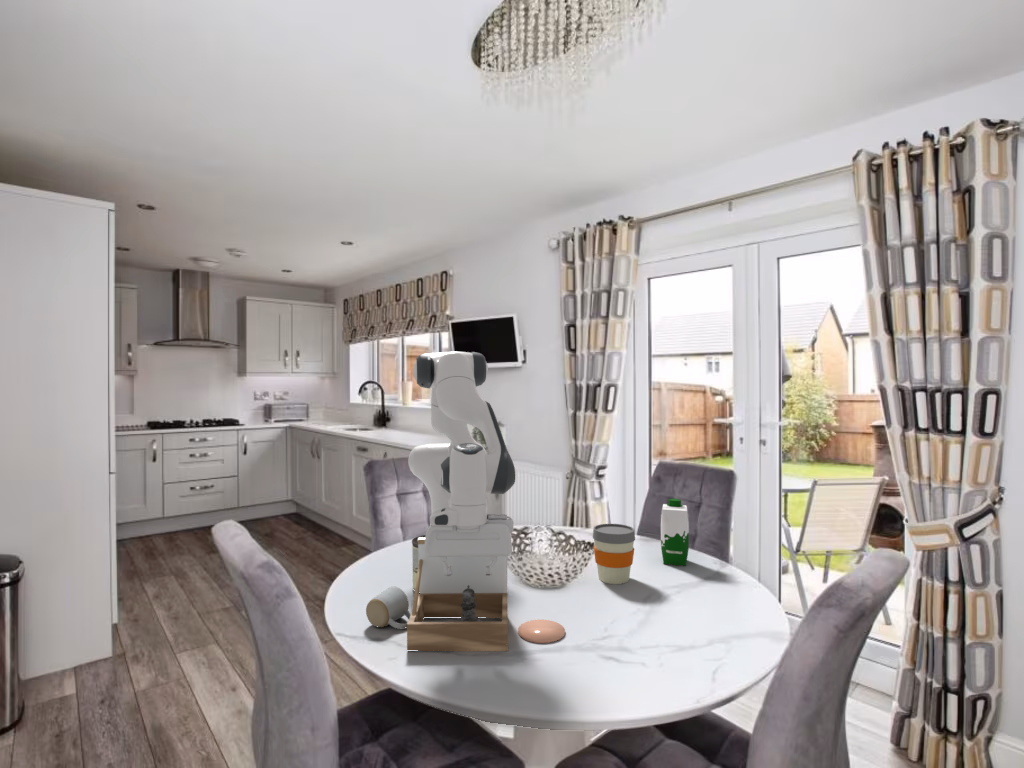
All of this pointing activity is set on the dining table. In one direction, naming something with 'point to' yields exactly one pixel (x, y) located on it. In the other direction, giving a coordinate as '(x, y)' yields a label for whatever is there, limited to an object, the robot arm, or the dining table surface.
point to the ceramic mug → (388, 608)
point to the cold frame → (458, 624)
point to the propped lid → (458, 575)
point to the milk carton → (674, 532)
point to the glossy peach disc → (541, 631)
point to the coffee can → (415, 559)
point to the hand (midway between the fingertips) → (468, 574)
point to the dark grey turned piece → (468, 606)
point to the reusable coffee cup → (613, 552)
